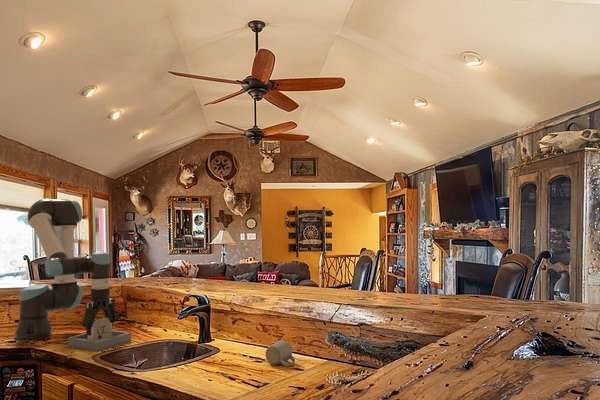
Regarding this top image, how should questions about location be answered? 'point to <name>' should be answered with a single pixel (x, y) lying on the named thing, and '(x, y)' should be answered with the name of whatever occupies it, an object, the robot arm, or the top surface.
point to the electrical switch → (102, 329)
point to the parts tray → (97, 346)
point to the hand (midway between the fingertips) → (99, 339)
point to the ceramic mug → (279, 353)
